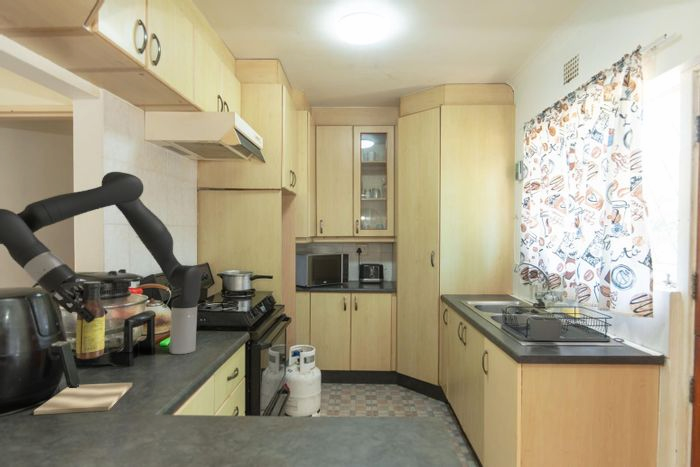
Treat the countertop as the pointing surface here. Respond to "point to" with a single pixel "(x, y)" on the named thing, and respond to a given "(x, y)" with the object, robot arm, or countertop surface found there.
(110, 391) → the birch board
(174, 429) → the countertop surface
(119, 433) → the countertop surface
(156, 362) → the countertop surface
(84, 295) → the sauce bottle
